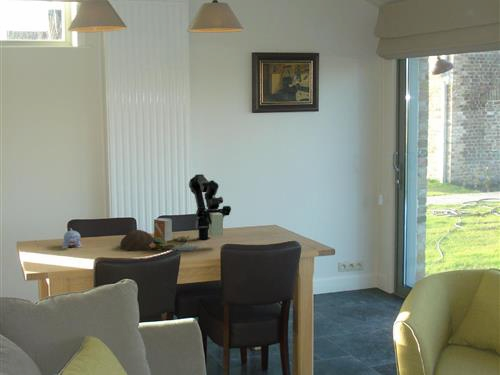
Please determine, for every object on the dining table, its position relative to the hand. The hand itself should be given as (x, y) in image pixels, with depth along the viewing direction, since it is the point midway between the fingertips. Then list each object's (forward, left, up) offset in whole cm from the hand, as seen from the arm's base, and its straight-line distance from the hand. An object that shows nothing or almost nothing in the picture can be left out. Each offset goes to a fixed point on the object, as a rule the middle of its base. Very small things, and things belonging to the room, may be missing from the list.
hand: (216, 223), depth 397 cm
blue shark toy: (+15, -78, -14) cm, 80 cm away
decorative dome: (+8, -42, -14) cm, 45 cm away
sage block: (-1, -1, -7) cm, 7 cm away
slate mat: (+6, -17, -13) cm, 22 cm away
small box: (-9, -34, -14) cm, 38 cm away
